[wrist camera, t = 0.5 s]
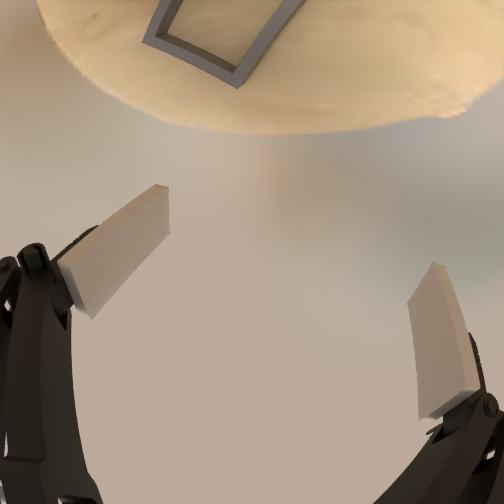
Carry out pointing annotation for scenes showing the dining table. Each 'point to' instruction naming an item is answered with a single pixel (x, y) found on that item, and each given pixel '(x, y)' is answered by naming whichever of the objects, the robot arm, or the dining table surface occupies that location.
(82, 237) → the robot arm
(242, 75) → the gray square frame
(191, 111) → the dining table surface
